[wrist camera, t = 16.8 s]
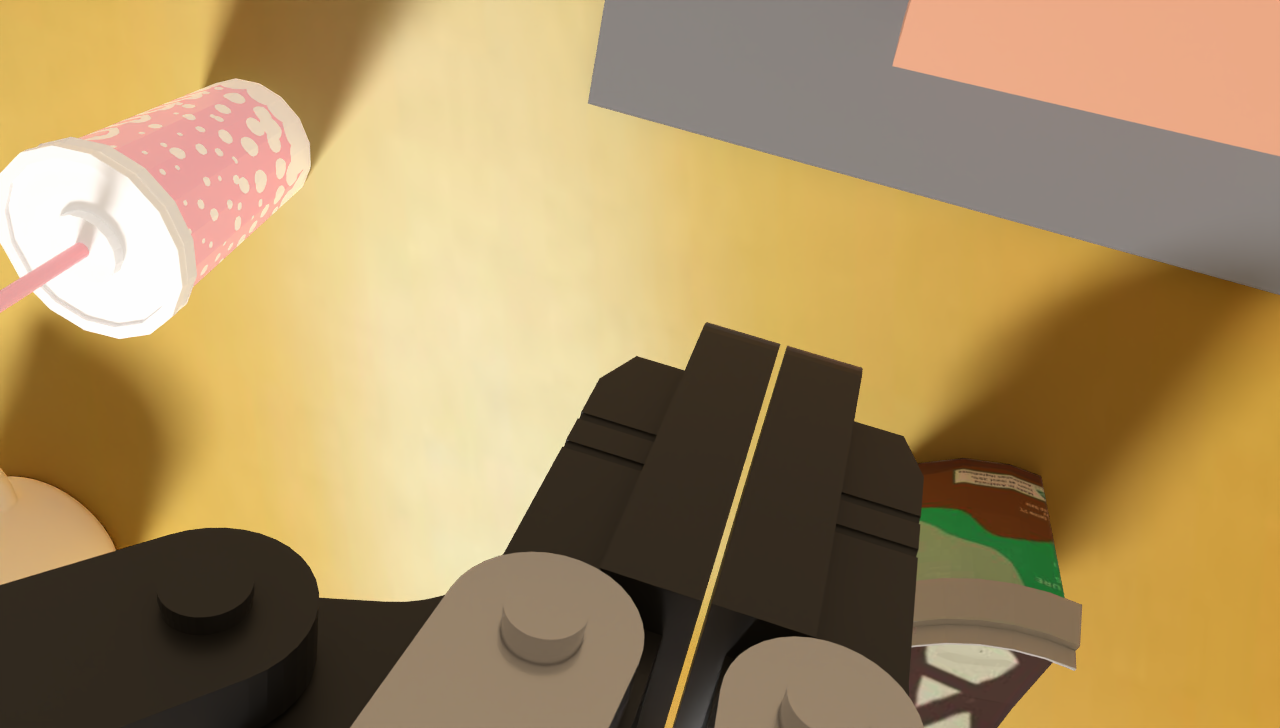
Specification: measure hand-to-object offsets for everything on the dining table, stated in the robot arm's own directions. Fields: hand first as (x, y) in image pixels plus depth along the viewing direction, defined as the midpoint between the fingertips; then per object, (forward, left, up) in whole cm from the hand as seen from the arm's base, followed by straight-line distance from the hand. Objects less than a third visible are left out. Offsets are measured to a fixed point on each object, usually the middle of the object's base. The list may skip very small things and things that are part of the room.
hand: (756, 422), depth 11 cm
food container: (+6, -20, -25) cm, 33 cm away
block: (+1, 0, -22) cm, 22 cm away
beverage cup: (-20, -12, -25) cm, 34 cm away
